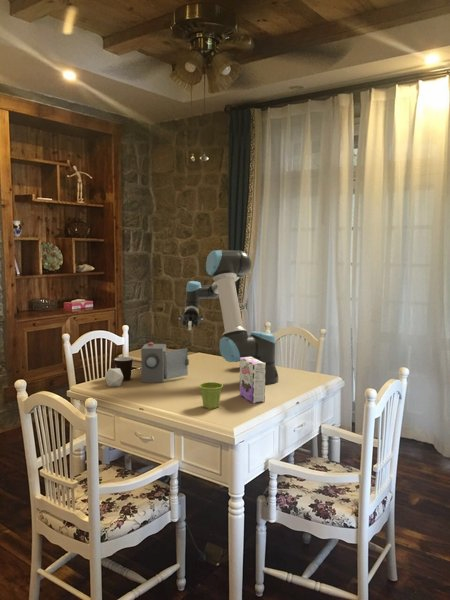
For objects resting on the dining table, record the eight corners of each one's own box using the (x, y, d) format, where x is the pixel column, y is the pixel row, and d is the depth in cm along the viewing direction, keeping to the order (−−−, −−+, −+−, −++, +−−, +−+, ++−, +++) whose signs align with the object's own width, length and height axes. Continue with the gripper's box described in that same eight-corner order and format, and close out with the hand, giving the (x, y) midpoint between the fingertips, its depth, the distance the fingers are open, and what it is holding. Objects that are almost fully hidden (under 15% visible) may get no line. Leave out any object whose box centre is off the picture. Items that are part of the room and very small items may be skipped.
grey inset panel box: (162, 383, 236) (162, 347, 235) (140, 383, 237) (140, 347, 235) (166, 376, 251) (166, 341, 249) (145, 375, 251) (145, 341, 249)
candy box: (238, 394, 218) (239, 357, 217) (251, 393, 221) (251, 356, 219) (252, 403, 206) (252, 363, 204) (265, 402, 208) (266, 362, 206)
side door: (165, 379, 238) (165, 352, 236) (163, 378, 239) (162, 351, 238) (188, 375, 246) (188, 348, 245) (186, 374, 247) (186, 348, 246)
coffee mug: (130, 381, 239) (130, 360, 238) (112, 381, 239) (112, 360, 238) (135, 375, 251) (135, 355, 250) (118, 375, 251) (118, 355, 250)
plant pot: (223, 410, 197) (223, 388, 197) (199, 410, 197) (199, 388, 196) (222, 403, 207) (222, 382, 206) (198, 403, 206) (198, 382, 205)
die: (125, 384, 237) (113, 367, 238) (129, 379, 230) (118, 361, 231) (110, 393, 232) (98, 375, 234) (114, 388, 225) (102, 370, 227)
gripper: (203, 321, 273) (202, 335, 250) (178, 320, 272) (176, 334, 249) (203, 308, 271) (203, 320, 248) (179, 307, 270) (176, 319, 247)
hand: (189, 327), depth 249 cm, fingers closed
